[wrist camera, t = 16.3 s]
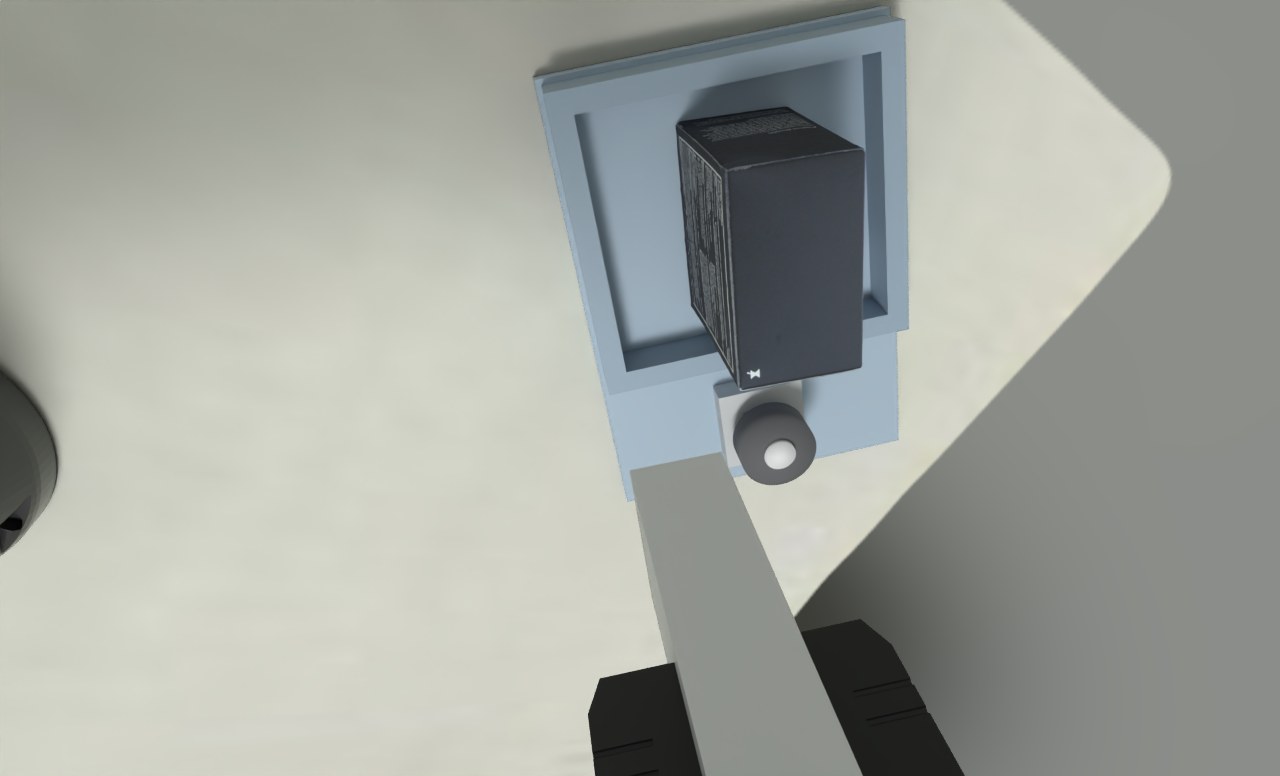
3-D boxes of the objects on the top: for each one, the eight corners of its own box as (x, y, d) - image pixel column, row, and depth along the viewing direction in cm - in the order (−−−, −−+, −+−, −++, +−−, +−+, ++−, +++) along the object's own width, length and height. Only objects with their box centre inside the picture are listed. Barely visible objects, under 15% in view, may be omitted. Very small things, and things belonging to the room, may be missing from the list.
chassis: (625, 492, 54) (632, 525, 51) (532, 77, 42) (535, 88, 39) (892, 432, 55) (915, 461, 52) (881, 5, 42) (911, 11, 39)
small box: (800, 291, 48) (869, 374, 39) (689, 309, 48) (733, 398, 39) (796, 101, 43) (875, 146, 34) (671, 120, 43) (718, 170, 33)
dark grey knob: (730, 458, 52) (746, 495, 48) (722, 397, 50) (738, 432, 46) (799, 442, 52) (820, 478, 48) (794, 381, 50) (815, 414, 46)
